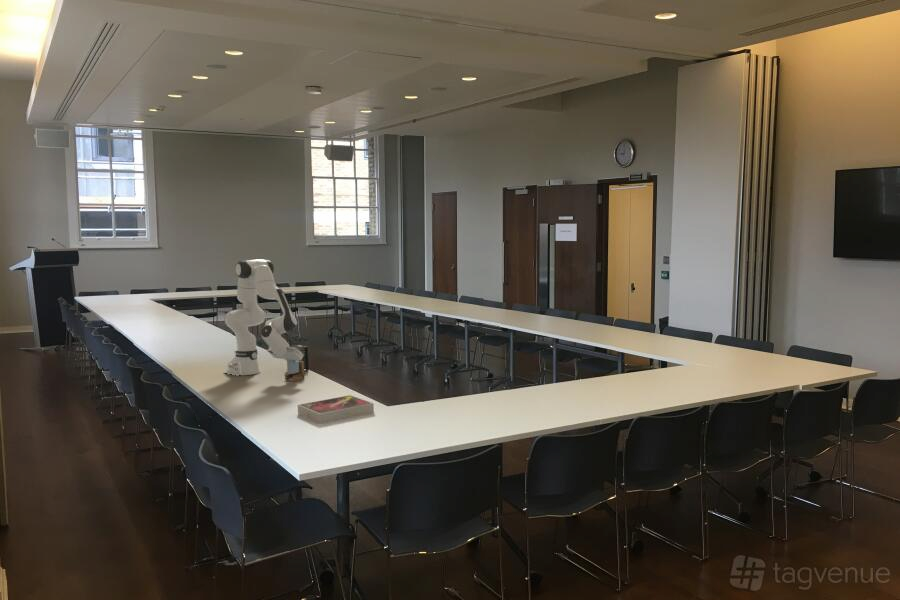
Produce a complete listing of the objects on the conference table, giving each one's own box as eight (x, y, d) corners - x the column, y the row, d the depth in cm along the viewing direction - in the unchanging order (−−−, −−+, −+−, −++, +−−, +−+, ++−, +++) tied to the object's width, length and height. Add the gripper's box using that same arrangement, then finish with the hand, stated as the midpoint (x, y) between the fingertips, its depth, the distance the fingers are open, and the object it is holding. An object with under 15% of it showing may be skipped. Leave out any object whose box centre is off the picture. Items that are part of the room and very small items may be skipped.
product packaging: (298, 415, 336) (297, 404, 335) (350, 404, 353) (350, 395, 352) (319, 424, 319) (319, 414, 318) (373, 413, 336) (373, 403, 335)
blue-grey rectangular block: (287, 373, 407) (286, 352, 406) (294, 371, 412) (293, 351, 411) (292, 374, 406) (291, 353, 404) (299, 372, 411) (298, 351, 410)
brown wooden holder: (285, 380, 408) (284, 363, 407) (295, 377, 416) (294, 360, 415) (293, 381, 405) (293, 364, 404) (304, 378, 413) (303, 361, 412)
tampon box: (309, 370, 436) (308, 346, 435) (294, 372, 431) (293, 348, 429) (302, 367, 445) (301, 344, 444) (287, 369, 440) (286, 345, 438)
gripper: (297, 344, 396) (310, 358, 406) (270, 341, 406) (282, 355, 415) (292, 353, 393) (305, 367, 402) (264, 350, 403) (277, 364, 412)
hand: (293, 361), depth 409 cm, fingers closed on blue-grey rectangular block, 3 cm apart
